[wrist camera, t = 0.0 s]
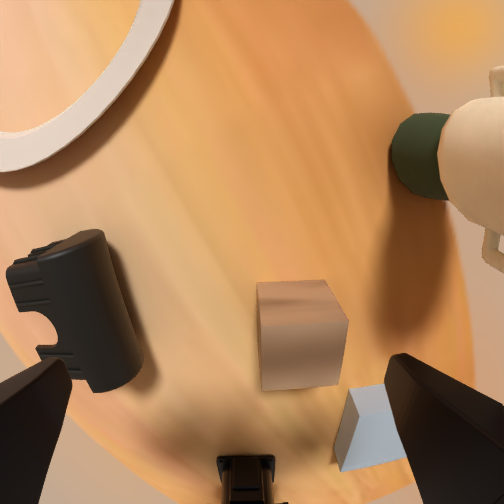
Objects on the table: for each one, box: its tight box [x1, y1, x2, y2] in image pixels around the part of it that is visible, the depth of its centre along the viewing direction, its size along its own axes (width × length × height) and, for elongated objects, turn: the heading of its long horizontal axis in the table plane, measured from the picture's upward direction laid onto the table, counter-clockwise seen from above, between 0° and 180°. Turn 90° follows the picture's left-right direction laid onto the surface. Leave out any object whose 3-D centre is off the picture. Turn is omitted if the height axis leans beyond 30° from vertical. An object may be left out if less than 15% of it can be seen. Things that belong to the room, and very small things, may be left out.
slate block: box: [334, 384, 407, 472], centre depth 26 cm, size 10×10×4 cm
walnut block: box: [257, 280, 349, 391], centre depth 21 cm, size 5×5×6 cm
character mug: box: [392, 65, 504, 273], centre depth 14 cm, size 11×7×13 cm, turn 1°
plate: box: [0, 0, 174, 172], centre depth 14 cm, size 26×26×2 cm
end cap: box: [6, 229, 144, 393], centre depth 19 cm, size 10×7×7 cm
